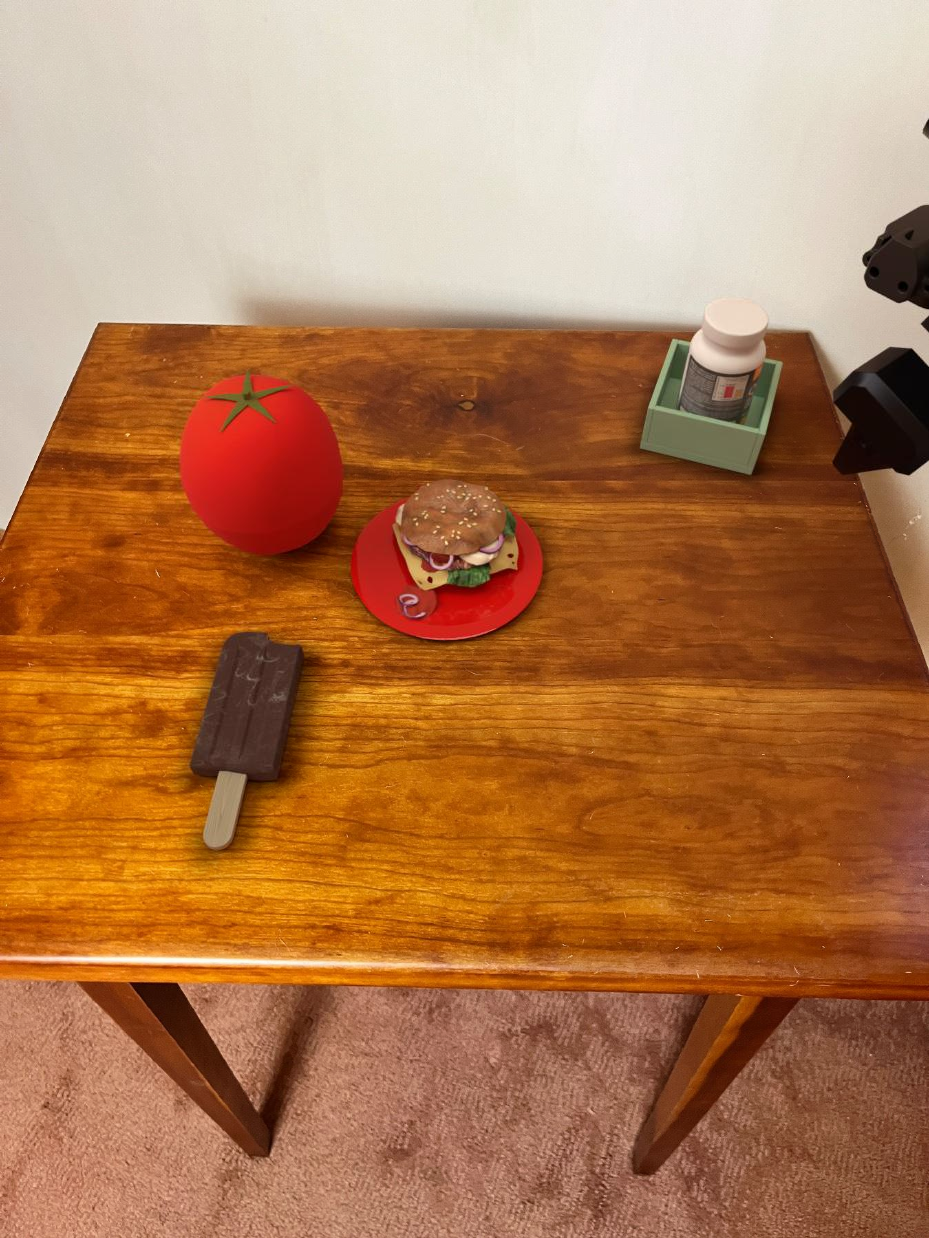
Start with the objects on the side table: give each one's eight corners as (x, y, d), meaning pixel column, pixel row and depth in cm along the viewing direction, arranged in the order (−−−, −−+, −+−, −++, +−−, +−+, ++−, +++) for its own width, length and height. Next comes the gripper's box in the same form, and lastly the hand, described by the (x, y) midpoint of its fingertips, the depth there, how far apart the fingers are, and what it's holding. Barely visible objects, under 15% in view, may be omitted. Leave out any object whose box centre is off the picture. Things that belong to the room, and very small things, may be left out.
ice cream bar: (261, 857, 54) (307, 646, 63) (256, 846, 52) (303, 633, 61) (174, 850, 54) (231, 642, 63) (166, 839, 53) (226, 628, 61)
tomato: (343, 590, 65) (319, 460, 55) (193, 585, 66) (141, 456, 55) (360, 477, 72) (341, 342, 62) (224, 473, 72) (183, 338, 62)
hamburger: (332, 518, 69) (321, 461, 65) (505, 477, 72) (508, 419, 67) (378, 665, 62) (370, 612, 57) (571, 613, 64) (579, 559, 59)
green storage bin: (768, 403, 77) (783, 361, 73) (751, 475, 72) (765, 434, 68) (663, 379, 79) (672, 338, 75) (639, 448, 74) (648, 407, 70)
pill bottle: (753, 440, 73) (788, 336, 65) (683, 446, 73) (710, 343, 65) (731, 393, 76) (762, 289, 68) (665, 399, 76) (688, 295, 68)
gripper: (1060, 103, 51) (882, 296, 65) (856, 216, 43) (706, 405, 57) (1209, 246, 49) (992, 413, 63) (1021, 389, 41) (824, 540, 56)
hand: (881, 437), depth 60 cm, fingers open, 9 cm apart
